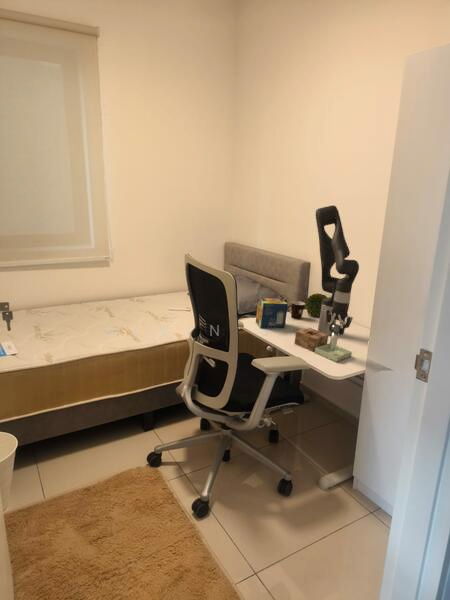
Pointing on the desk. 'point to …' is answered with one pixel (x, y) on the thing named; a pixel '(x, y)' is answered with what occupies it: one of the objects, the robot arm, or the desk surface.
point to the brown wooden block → (310, 339)
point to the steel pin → (334, 336)
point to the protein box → (271, 313)
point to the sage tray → (333, 353)
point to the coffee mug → (296, 309)
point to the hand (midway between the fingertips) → (336, 332)
